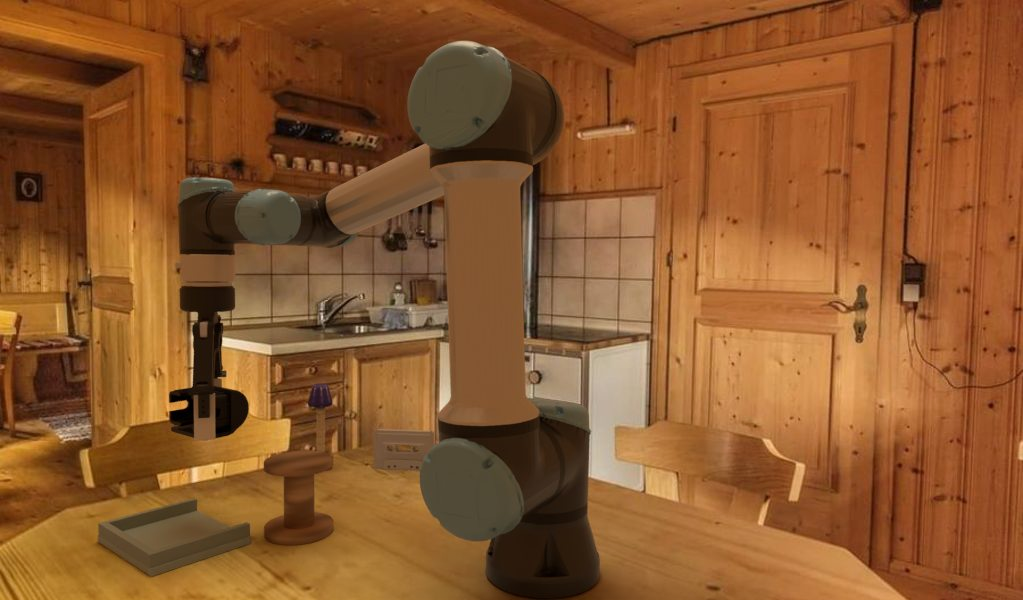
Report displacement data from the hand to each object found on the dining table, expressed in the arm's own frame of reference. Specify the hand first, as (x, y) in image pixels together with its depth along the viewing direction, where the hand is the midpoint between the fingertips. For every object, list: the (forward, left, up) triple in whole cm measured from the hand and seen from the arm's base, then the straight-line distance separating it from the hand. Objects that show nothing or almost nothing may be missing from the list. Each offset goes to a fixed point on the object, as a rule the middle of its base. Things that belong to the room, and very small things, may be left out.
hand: (209, 429), depth 104 cm
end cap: (0, 0, 0) cm, 0 cm away
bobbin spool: (-11, -8, -15) cm, 20 cm away
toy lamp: (+13, -29, -16) cm, 36 cm away
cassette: (+1, -40, -16) cm, 43 cm away
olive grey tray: (-1, +6, -15) cm, 16 cm away
